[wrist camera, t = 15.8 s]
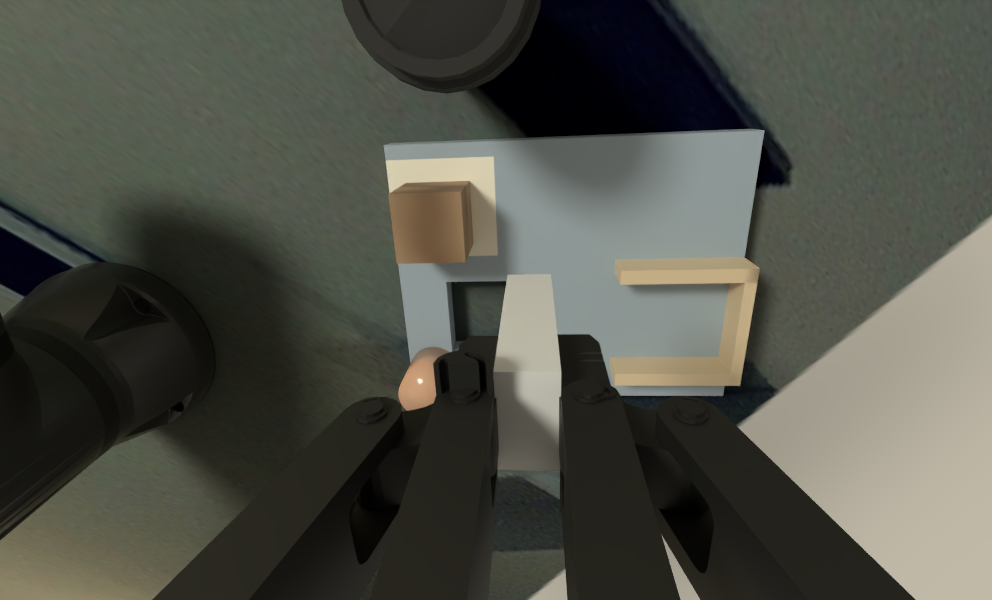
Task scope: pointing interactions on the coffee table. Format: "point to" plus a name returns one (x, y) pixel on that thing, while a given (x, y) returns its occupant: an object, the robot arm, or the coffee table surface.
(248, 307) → the coffee table surface
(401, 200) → the walnut cube
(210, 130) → the coffee table surface
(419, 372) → the beige cylinder
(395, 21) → the coffee cup
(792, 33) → the coffee table surface
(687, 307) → the board
